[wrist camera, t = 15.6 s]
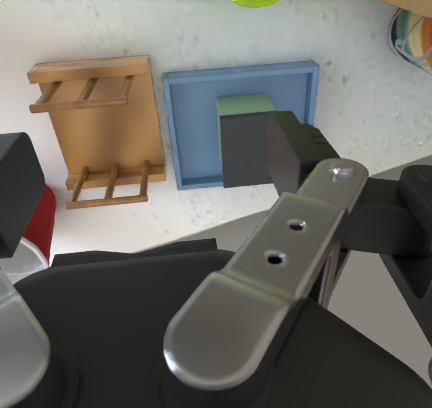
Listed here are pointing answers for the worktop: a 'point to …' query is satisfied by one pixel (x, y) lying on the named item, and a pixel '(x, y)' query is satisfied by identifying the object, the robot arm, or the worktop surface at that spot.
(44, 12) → the worktop surface
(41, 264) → the plastic cup
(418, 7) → the sandwich container
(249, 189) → the worktop surface
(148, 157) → the dish rack
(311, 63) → the tray
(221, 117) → the tub
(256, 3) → the soap dispenser
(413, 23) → the lotion bottle
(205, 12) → the worktop surface
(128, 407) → the robot arm
